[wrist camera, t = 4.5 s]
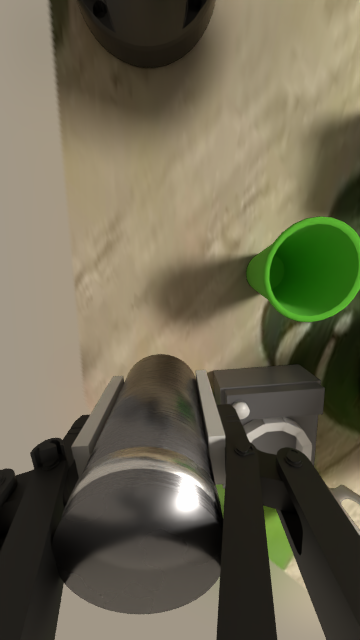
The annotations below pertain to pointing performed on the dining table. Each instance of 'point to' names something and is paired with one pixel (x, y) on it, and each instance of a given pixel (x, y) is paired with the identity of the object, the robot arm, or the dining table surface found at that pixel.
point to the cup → (309, 269)
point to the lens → (145, 500)
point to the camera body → (274, 405)
